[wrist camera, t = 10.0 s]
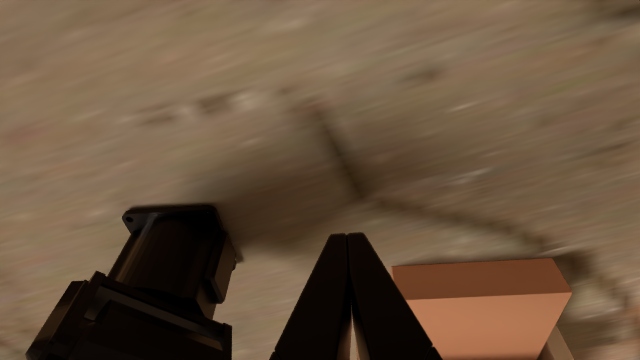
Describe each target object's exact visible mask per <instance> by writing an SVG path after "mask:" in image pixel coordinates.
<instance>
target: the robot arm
mask: <svg viewBox="0 0 640 360" xmlns="http://www.w3.org/2000/svg"><path fill="white" fill-rule="evenodd" d="M207 212H209V213H207ZM210 213H211V214H210ZM122 220H123V222H124V223H125V225H126V227H127V228H128V230H129V232H130V233H131V235H130V237H129V239H128V240H127V242H126V244H125V246H124V248H123V249H122V251H121V253H120V255H119V256H118V258H117V260H116V262H115V263H114V265H113V267H112V269H111V271H110V272H109V274H108V276H107V277H106V276H105V275H106V274H104V273H101V272H99V271H96V272H95V273H94V274H93V276H92V277H91V279H90V280H89V281H87V280H84V281H72V282H71V283H70V285H69V286H68V288H67V289H66V291H65V293H64V294H63V296H62V297H61V299H60V300H59V302H58V303H57V305H56V306H55V308H54V310H53V311H52V313H51V314H50V316H49V317H48V319H47V320H46V322H45V324H44V325H43V327H42V328H41V330H40V332H39V333H38V335H37V336H36V338H35V339H34V341H33V343H32V344H31V346H30V347H29V349H28V350H27V352H26V354H25V355H26V359H27V360H232V326H231V325H228V324H226V323H223V324H222V323H219V322H217V321H214V320H212V319H213V315H214V311H215V308H216V304H222V303H223V302H224V300H225V297H226V293H227V289H228V285H229V281H230V277H231V273H232V271H233V270H235V267H236V261H235V257H236V254H235V251H234V248H233V246H232V243H231V240H230V237H229V235H228V233H227V232H226V231H225V230H224V228H223V225H222V223H221V220H220V217H219V214H218V212H217V210H216V208H214V207H213V206H208V205H207V206H190V207H174V208H158V209H142V210H128V211H126V212H125V213H124V215H123V216H122ZM351 306H352V309H351ZM352 318H353V325H354V331H355V336H356V342H357V347H358V353H359V358H360V360H443V359H442V357H441V356H440V354H439V352H438V351H437V349H436V348H435V347H433V343H432V341H431V340H430V338H429V337H428V335H427V333H426V332H425V330H424V329H423V327H422V325H421V324H420V322H419V321H418V319H417V317H416V316H415V314H414V313H413V311H412V309H411V308H410V306H409V305H408V303H407V301H406V300H405V298H404V297H403V295H402V293H401V292H400V290H399V289H398V287H397V285H396V284H395V282H394V281H393V279H392V277H391V276H390V274H389V273H388V271H387V269H386V268H385V266H384V265H383V263H382V261H381V260H380V258H379V257H378V255H377V253H376V252H375V250H374V249H373V247H372V245H371V244H370V242H369V241H368V239H367V237H366V236H365V234H364V233H362V232H358V233H349V234H348V235H346V234H345V233H339V234H331V235H330V236H329V238H328V240H327V242H326V244H325V246H324V248H323V250H322V252H321V254H320V256H319V258H318V260H317V263H316V265H315V267H314V269H313V271H312V273H311V275H310V277H309V279H308V281H307V283H306V285H305V287H304V289H303V291H302V293H301V295H300V298H299V300H298V302H297V304H296V306H295V308H294V310H293V312H292V314H291V316H290V318H289V320H288V322H287V324H286V326H285V328H284V330H283V333H282V335H281V337H280V339H279V341H278V343H277V345H276V347H275V352H273V353H272V355H271V357H270V359H269V360H350V345H351V329H352Z"/></svg>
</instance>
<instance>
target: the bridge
mask: <svg viewBox="0 0 640 360" xmlns="http://www.w3.org/2000/svg"><path fill="white" fill-rule="evenodd" d="M356 352H357V360H360V358H359V353H358V347H357V342H356ZM536 360H574V358H573V356H572V354H571V352H570V350H569V348H568V346H567V345H566V343H565V341H564V339H563V337H562V335H561V333H560V331H559V329H558V327H557V325H556V324H555V326H554V328H553V330H552V332H551V333H550V335H549V337H548V339H547V341H546V343H545V345H544V346H543V348H542V350H541V352H540V354H539V356H538V357H537V359H536Z"/></svg>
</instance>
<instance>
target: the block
mask: <svg viewBox="0 0 640 360" xmlns="http://www.w3.org/2000/svg"><path fill="white" fill-rule="evenodd" d="M391 277H392V279H393V281H394V282H395V284H396V285H397V287H398V289H399V290H400V292H401V293H402V295H403V297H404V298H405V300H406V301H407V303H408V305H409V306H410V308H411V309H412V311H413V313H414V314H415V316H416V317H417V319H418V321H419V322H420V324H421V325H422V327H423V329H424V330H425V332H426V333H427V335H428V337H429V338H430V340H431V341H432V343H433V347H435V348H436V349H437V351H438V352H439V354H440V356H441V357H442V359H443V360H536V359H537V357H538V356H539V354H540V352H541V350H542V348H543V346H544V345H545V343H546V341H547V339H548V337H549V335H550V333H551V332H552V330H553V328H554V326H555V324H556V322H557V321H558V319H559V317H560V315H561V313H562V311H563V309H564V308H565V306H566V304H567V302H568V300H569V298H570V296H571V295H572V293H573V292H572V291H571V289H570V287H569V286H568V284H567V282H566V281H565V279H564V277H563V276H562V274H561V272H560V271H559V269H558V267H557V266H556V264H555V262H554V261H553V259H552V258H545V259H525V260H506V261H487V262H468V263H449V264H430V265H411V266H392V267H391Z"/></svg>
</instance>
